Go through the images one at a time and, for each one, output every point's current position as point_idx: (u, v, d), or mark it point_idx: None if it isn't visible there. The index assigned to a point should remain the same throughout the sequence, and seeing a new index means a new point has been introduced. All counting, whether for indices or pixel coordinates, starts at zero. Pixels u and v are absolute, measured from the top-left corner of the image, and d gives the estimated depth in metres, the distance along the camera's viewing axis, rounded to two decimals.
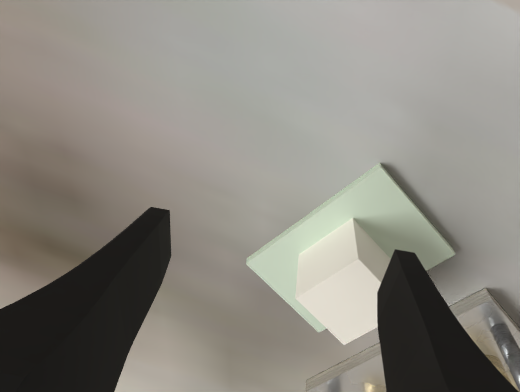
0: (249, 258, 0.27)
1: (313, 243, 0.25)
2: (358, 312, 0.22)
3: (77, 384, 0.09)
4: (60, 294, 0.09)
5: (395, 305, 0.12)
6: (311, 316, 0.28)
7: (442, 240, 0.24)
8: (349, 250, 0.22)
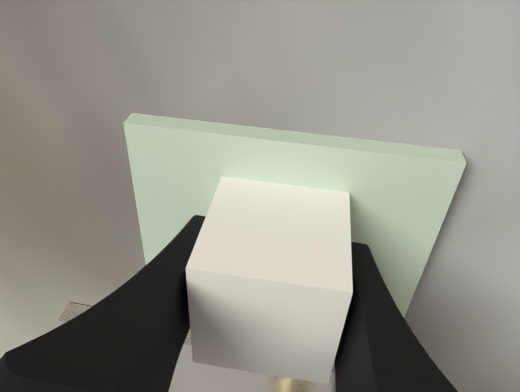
0: (135, 118, 0.13)
1: (258, 180, 0.13)
2: (261, 346, 0.12)
3: None
4: (123, 306, 0.09)
5: None
6: None
7: (410, 298, 0.15)
8: (334, 256, 0.11)
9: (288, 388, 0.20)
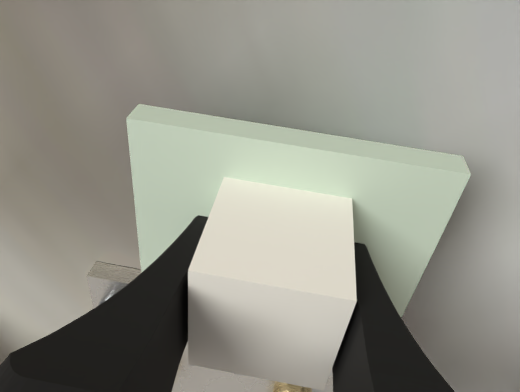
0: (138, 114, 0.13)
1: (261, 182, 0.13)
2: (259, 351, 0.12)
3: None
4: (127, 306, 0.09)
5: None
6: (152, 256, 0.16)
7: (405, 304, 0.15)
8: (337, 263, 0.11)
9: None
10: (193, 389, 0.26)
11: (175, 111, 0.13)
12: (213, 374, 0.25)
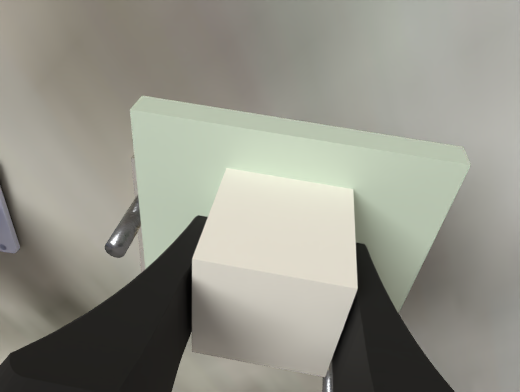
0: (141, 105, 0.13)
1: (263, 172, 0.13)
2: (262, 338, 0.12)
3: None
4: (127, 306, 0.09)
5: None
6: (155, 247, 0.16)
7: (405, 294, 0.16)
8: (339, 252, 0.11)
9: None
10: None
11: (178, 103, 0.13)
12: None
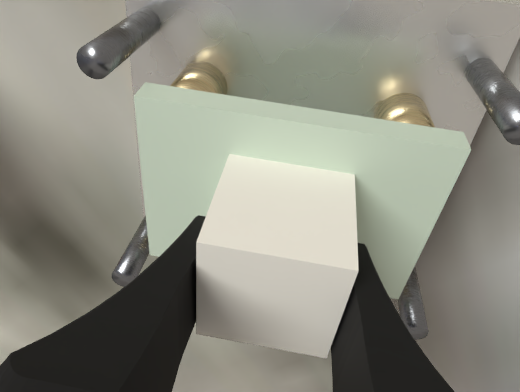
0: (145, 92, 0.13)
1: (266, 158, 0.13)
2: (264, 320, 0.12)
3: None
4: (127, 307, 0.09)
5: None
6: (159, 233, 0.16)
7: (406, 279, 0.16)
8: (340, 235, 0.11)
9: (411, 50, 0.15)
10: None
11: (181, 89, 0.13)
12: None
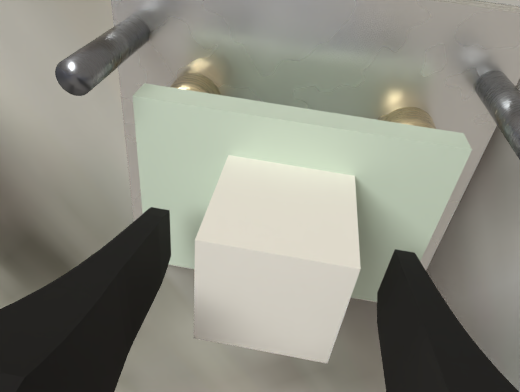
0: (144, 92, 0.13)
1: (265, 159, 0.13)
2: (264, 323, 0.12)
3: (77, 384, 0.09)
4: (60, 294, 0.09)
5: (395, 305, 0.12)
6: None
7: None
8: (341, 234, 0.11)
9: (417, 62, 0.14)
10: None
11: (181, 90, 0.13)
12: None
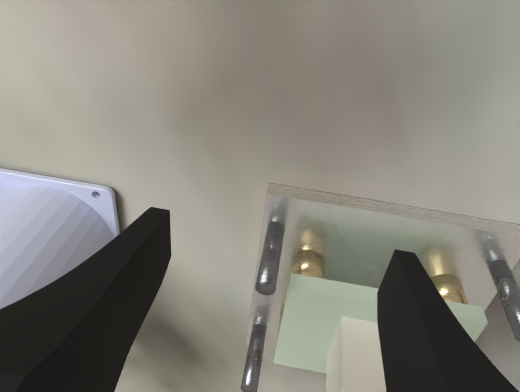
0: (294, 283, 0.22)
1: (364, 320, 0.22)
2: None
3: (77, 384, 0.09)
4: (60, 294, 0.09)
5: (395, 305, 0.12)
6: (284, 352, 0.25)
7: None
8: None
9: (452, 253, 0.23)
10: None
11: (313, 278, 0.22)
12: None
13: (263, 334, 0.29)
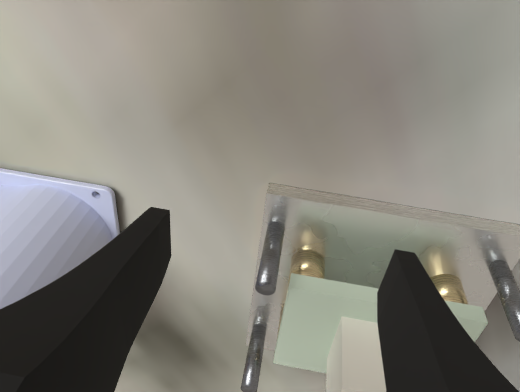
0: (294, 283, 0.22)
1: (364, 320, 0.22)
2: None
3: (77, 384, 0.09)
4: (60, 294, 0.09)
5: (395, 305, 0.12)
6: (284, 352, 0.25)
7: None
8: None
9: (452, 253, 0.23)
10: None
11: (313, 278, 0.22)
12: None
13: (263, 334, 0.29)
